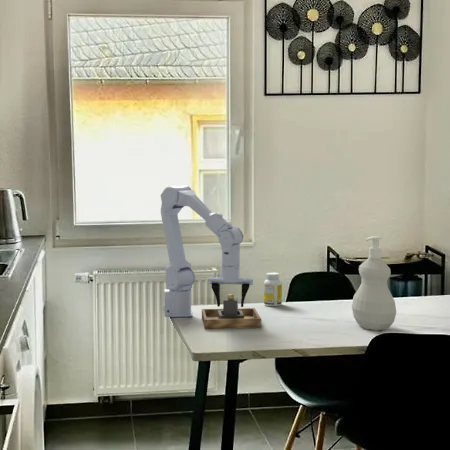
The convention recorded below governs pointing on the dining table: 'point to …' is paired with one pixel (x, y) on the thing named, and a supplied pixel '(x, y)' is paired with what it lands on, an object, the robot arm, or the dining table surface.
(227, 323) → the walled box
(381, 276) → the soap bottle
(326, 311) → the dining table surface
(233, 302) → the connector plug
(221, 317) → the collar
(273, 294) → the pill bottle
